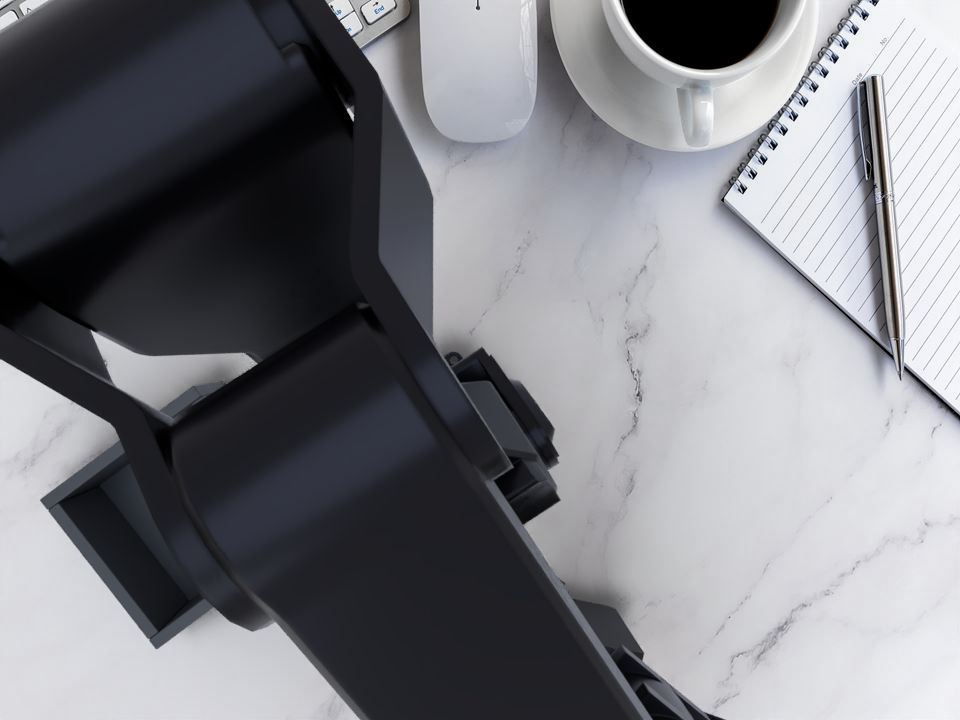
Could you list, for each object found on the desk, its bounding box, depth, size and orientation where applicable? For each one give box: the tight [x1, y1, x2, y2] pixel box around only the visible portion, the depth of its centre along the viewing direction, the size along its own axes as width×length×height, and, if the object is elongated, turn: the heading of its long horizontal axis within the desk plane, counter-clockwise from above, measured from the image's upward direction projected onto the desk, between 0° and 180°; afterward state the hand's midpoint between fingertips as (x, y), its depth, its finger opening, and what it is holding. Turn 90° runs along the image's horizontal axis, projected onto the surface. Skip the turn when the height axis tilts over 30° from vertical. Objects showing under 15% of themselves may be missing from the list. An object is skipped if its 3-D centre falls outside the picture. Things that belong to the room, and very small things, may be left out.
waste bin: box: [39, 380, 226, 650], centre depth 48 cm, size 10×10×6 cm
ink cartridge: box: [572, 598, 645, 662], centre depth 48 cm, size 5×2×8 cm, turn 77°
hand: (584, 650), depth 46 cm, fingers open, 9 cm apart
